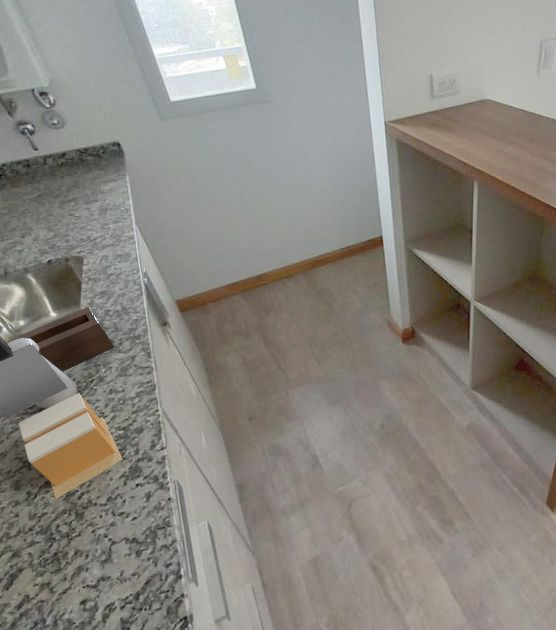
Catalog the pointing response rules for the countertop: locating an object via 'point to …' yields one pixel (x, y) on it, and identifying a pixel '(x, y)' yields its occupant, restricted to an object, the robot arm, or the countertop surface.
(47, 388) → the knife
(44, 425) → the cake
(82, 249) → the countertop surface
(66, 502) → the countertop surface
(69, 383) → the salt shaker
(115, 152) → the countertop surface
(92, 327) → the knife block
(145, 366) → the countertop surface
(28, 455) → the cake slice
